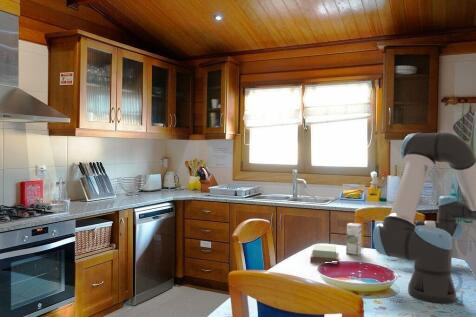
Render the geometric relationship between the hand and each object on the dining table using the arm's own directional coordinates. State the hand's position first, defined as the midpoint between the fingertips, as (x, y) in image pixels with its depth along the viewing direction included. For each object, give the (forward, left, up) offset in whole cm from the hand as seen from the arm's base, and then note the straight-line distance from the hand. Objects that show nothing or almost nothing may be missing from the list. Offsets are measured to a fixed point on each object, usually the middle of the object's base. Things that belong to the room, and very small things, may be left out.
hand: (375, 226), depth 193 cm
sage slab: (-16, +23, -12) cm, 31 cm away
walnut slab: (-17, +23, -15) cm, 32 cm away
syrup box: (-1, +10, -14) cm, 17 cm away
